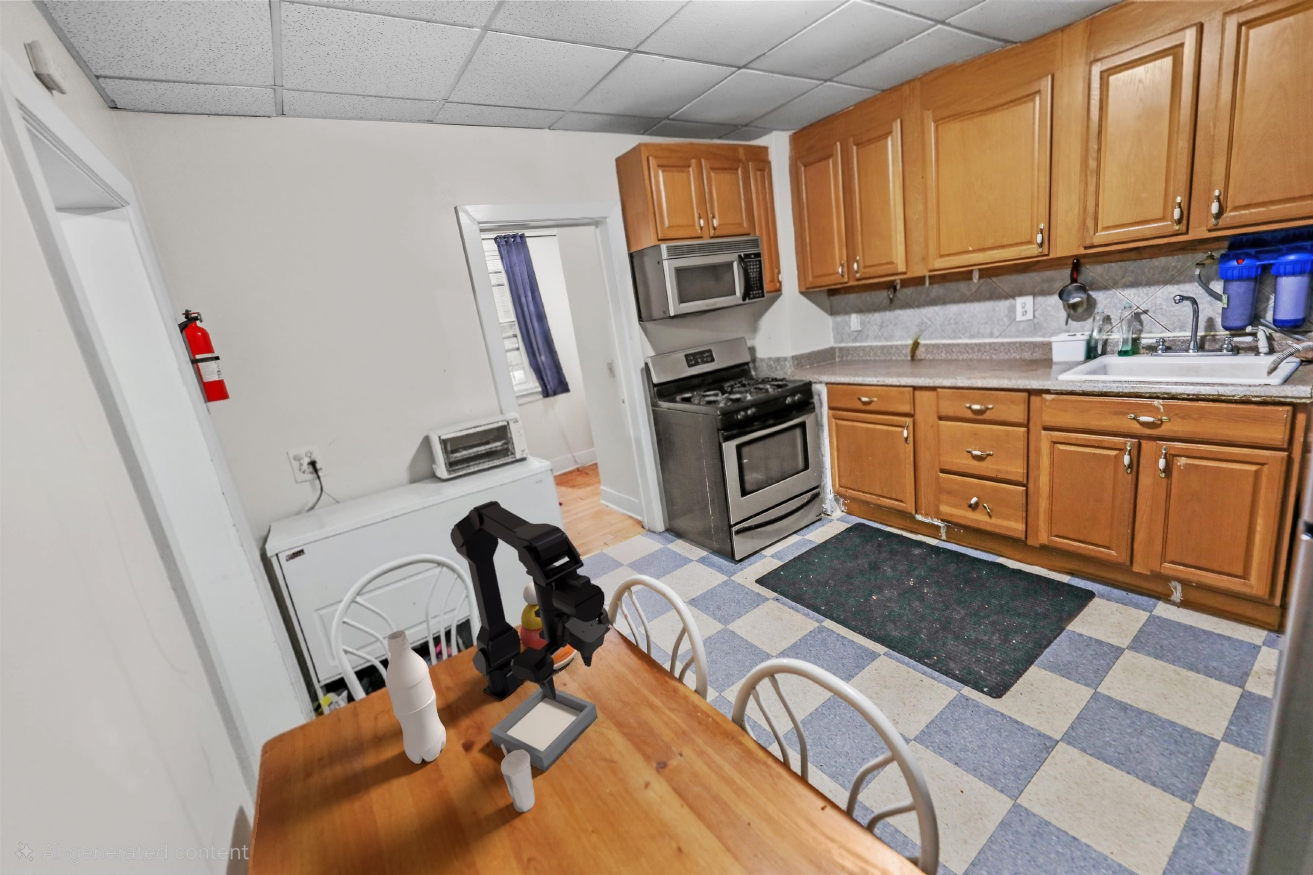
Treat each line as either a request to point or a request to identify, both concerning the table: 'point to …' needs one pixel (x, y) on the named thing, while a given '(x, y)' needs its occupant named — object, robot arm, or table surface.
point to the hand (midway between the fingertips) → (571, 682)
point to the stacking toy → (539, 630)
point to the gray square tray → (544, 726)
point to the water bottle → (413, 700)
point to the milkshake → (518, 778)
